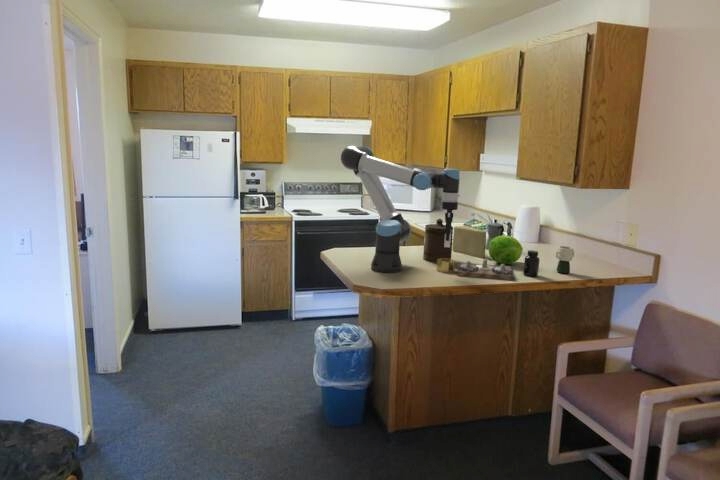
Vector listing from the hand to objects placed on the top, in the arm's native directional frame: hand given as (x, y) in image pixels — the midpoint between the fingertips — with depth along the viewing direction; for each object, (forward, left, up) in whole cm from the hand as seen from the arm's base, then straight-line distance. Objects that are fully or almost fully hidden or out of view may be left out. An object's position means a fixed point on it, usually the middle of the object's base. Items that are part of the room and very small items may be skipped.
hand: (447, 244), depth 250 cm
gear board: (+19, +1, -13) cm, 23 cm away
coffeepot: (+27, +61, -13) cm, 68 cm away
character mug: (+58, +15, -13) cm, 61 cm away
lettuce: (+31, +26, -13) cm, 42 cm away
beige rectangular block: (+13, +43, -13) cm, 47 cm away
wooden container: (-5, +22, -13) cm, 26 cm away
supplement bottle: (+41, +4, -13) cm, 43 cm away
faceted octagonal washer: (0, 0, -13) cm, 13 cm away
